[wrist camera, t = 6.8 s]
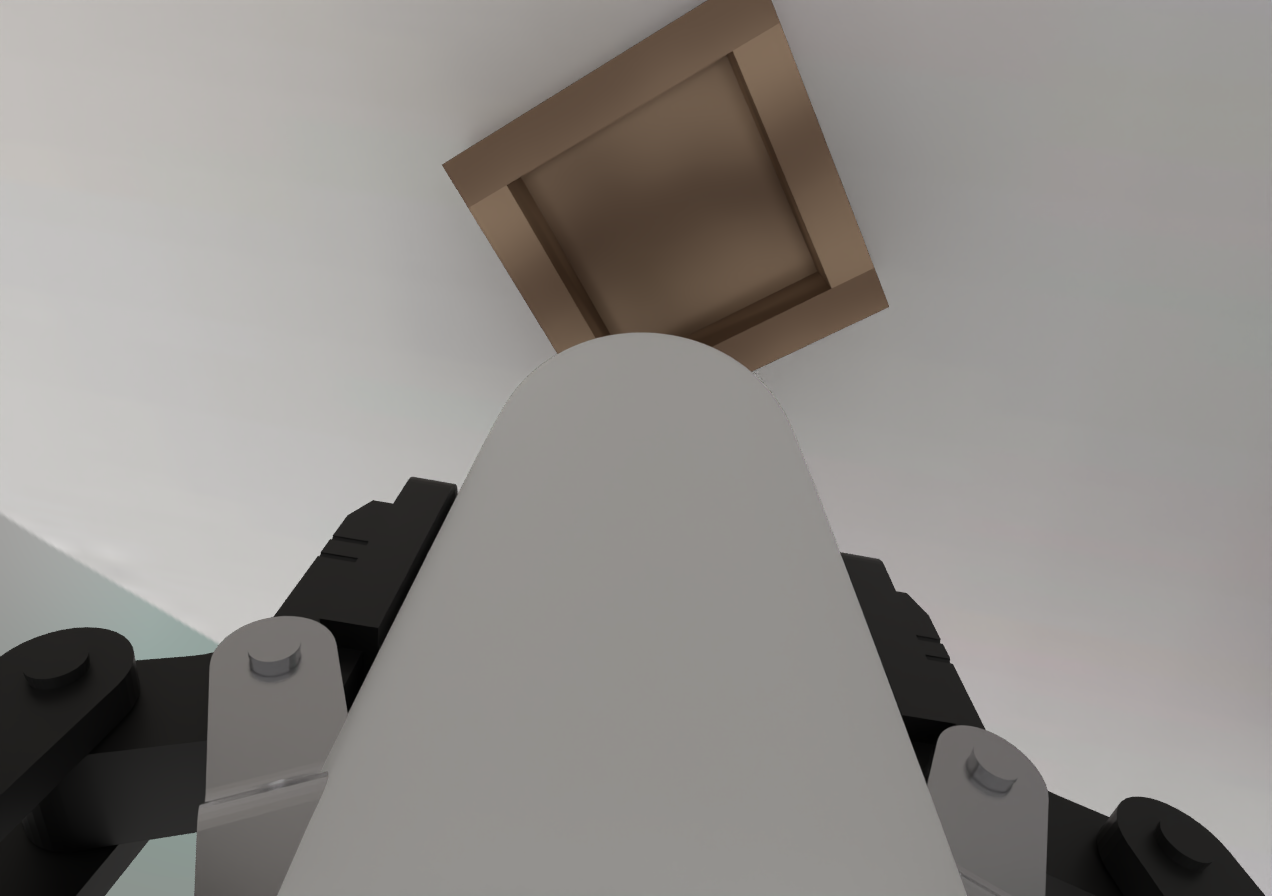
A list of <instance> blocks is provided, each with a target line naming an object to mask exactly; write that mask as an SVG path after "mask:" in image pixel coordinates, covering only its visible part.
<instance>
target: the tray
mask: <svg viewBox="0 0 1272 896" xmlns="http://www.w3.org/2000/svg"><path fill="white" fill-rule="evenodd" d="M442 166H443V167H444V169H445V171H446V172H447V174H448V176H449V177H450V179H451V180H452V182H453V184H454V185H455V187H456V189H457V190H458V192H459V194H460V195H461V197H462V198H463V200H464V202H465V203H466V205H467V207H468V208H469V210H470V212H471V213H472V215H473V216H474V218H475V220H476V221H477V223H478V225H479V226H480V228H481V229H482V231H483V233H484V234H485V236H486V238H487V239H488V241H489V243H490V244H491V246H492V247H493V249H494V251H495V252H496V254H497V256H498V257H499V259H500V261H501V262H502V264H503V265H504V267H505V269H506V270H507V272H508V274H509V275H510V277H511V279H512V280H513V282H514V283H515V285H516V287H517V288H518V290H519V292H520V293H521V295H522V297H523V298H524V300H525V301H526V303H527V305H528V306H529V308H530V310H531V311H532V313H533V315H534V316H535V318H536V319H537V321H538V323H539V324H540V326H541V328H542V329H543V331H544V333H545V334H546V336H547V337H548V339H549V341H550V342H551V344H552V346H553V347H554V349H555V351H556V352H557V354H559V353H561V352H562V351H564V350H566V349H568V348H571V347H573V346H575V345H578V344H580V343H583V342H586V341H589V340H592V339H596V338H600V337H604V336H609V335H615V334H622V333H660V334H668V335H674V336H679V337H683V338H687V339H691V340H694V341H697V342H700V343H703V344H705V345H708V346H710V347H713V348H715V349H717V350H719V351H721V352H723V353H725V354H726V355H728V356H730V357H732V358H733V359H735V360H736V361H738V362H739V363H741V364H742V365H743V366H745V367H746V368H747V369H748V370H750V371H751V372H752V371H754V370H756V369H758V368H760V367H762V366H765V365H767V364H769V363H771V362H773V361H775V360H777V359H779V358H782V357H784V356H786V355H788V354H790V353H792V352H794V351H796V350H799V349H801V348H803V347H805V346H807V345H809V344H811V343H813V342H816V341H818V340H820V339H822V338H824V337H826V336H828V335H830V334H833V333H835V332H837V331H839V330H841V329H843V328H845V327H847V326H850V325H852V324H854V323H856V322H858V321H860V320H862V319H864V318H867V317H869V316H871V315H873V314H875V313H877V312H879V311H881V310H884V309H886V308H888V307H889V305H888V302H887V300H886V297H885V294H884V292H883V289H882V287H881V284H880V281H879V279H878V276H877V274H876V271H875V268H874V266H873V263H872V261H871V258H870V255H869V253H868V250H867V248H866V245H865V242H864V240H863V237H862V235H861V232H860V229H859V227H858V224H857V222H856V219H855V216H854V214H853V211H852V209H851V206H850V203H849V201H848V198H847V196H846V193H845V190H844V188H843V185H842V183H841V180H840V177H839V175H838V172H837V170H836V167H835V164H834V162H833V159H832V157H831V154H830V151H829V149H828V146H827V144H826V141H825V138H824V136H823V133H822V131H821V128H820V125H819V123H818V120H817V118H816V115H815V112H814V110H813V107H812V105H811V102H810V99H809V97H808V94H807V92H806V89H805V86H804V84H803V81H802V79H801V76H800V74H799V71H798V68H797V66H796V63H795V61H794V58H793V55H792V53H791V50H790V48H789V45H788V42H787V40H786V37H785V35H784V32H783V29H782V27H781V24H780V22H779V19H778V16H777V14H776V11H775V9H774V6H773V3H772V1H771V0H707V1H706V2H704V3H702V4H701V5H699V6H697V7H696V8H694V9H693V10H691V11H689V12H688V13H686V14H685V15H683V16H681V17H680V18H678V19H676V20H675V21H673V22H672V23H670V24H668V25H667V26H665V27H664V28H662V29H660V30H659V31H657V32H655V33H654V34H652V35H651V36H649V37H647V38H646V39H644V40H643V41H641V42H639V43H638V44H636V45H634V46H633V47H631V48H630V49H628V50H626V51H625V52H623V53H622V54H620V55H618V56H617V57H615V58H613V59H612V60H610V61H609V62H607V63H605V64H604V65H602V66H601V67H599V68H597V69H596V70H594V71H592V72H591V73H589V74H588V75H586V76H584V77H583V78H581V79H580V80H578V81H576V82H575V83H573V84H571V85H570V86H568V87H567V88H565V89H563V90H562V91H560V92H559V93H557V94H555V95H554V96H552V97H550V98H549V99H547V100H546V101H544V102H542V103H541V104H539V105H538V106H536V107H534V108H533V109H531V110H530V111H528V112H526V113H525V114H523V115H521V116H520V117H518V118H517V119H515V120H513V121H512V122H510V123H509V124H507V125H505V126H504V127H502V128H500V129H499V130H497V131H496V132H494V133H492V134H491V135H489V136H488V137H486V138H484V139H483V140H481V141H479V142H478V143H476V144H475V145H473V146H471V147H470V148H468V149H467V150H465V151H463V152H462V153H460V154H458V155H457V156H455V157H454V158H452V159H450V160H449V161H447V162H446V163H444V164H442Z"/></svg>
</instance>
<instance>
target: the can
mask: <svg viewBox="0 0 1272 896" xmlns="http://www.w3.org/2000/svg"><path fill="white" fill-rule="evenodd" d="M326 771H327V772H328V780H327V784H326V786H325V789H324V791H323V794H322V796H321V798H320V800H319V803H318V805H317V807H316V809H315V811H314V813H313V815H312V818H311V820H310V822H309V824H308V826H307V829H306V831H305V833H304V835H303V838H302V840H301V842H300V845H299V847H298V849H297V851H296V854H295V856H294V858H293V861H292V863H291V865H290V867H289V870H288V872H287V874H286V876H285V879H284V881H283V883H282V886H281V888H280V890H279V892H278V895H277V896H967V894H966V891H965V889H964V886H963V883H962V880H961V878H960V875H959V872H958V869H957V866H956V864H955V861H954V858H953V855H952V853H951V850H950V847H949V844H948V842H947V839H946V836H945V833H944V831H943V828H942V825H941V822H940V820H939V817H938V814H937V811H936V809H935V806H934V803H933V801H932V798H931V795H930V792H929V790H928V787H927V784H926V782H925V779H924V776H923V774H922V771H921V768H920V765H919V763H918V760H917V757H916V755H915V752H914V749H913V746H912V744H911V741H910V738H909V736H908V733H907V730H906V728H905V725H904V722H903V719H902V717H901V714H900V711H899V709H898V706H897V703H896V701H895V698H894V695H893V692H892V690H891V687H890V684H889V682H888V679H887V676H886V674H885V671H884V668H883V666H882V663H881V660H880V658H879V655H878V652H877V649H876V647H875V644H874V641H873V639H872V636H871V633H870V631H869V628H868V625H867V623H866V620H865V617H864V615H863V612H862V609H861V607H860V604H859V601H858V599H857V596H856V593H855V591H854V588H853V585H852V583H851V580H850V577H849V575H848V572H847V569H846V567H845V564H844V561H843V559H842V556H841V553H840V551H839V548H838V545H837V543H836V540H835V537H834V535H833V532H832V529H831V527H830V524H829V521H828V519H827V516H826V514H825V511H824V508H823V506H822V503H821V500H820V498H819V495H818V493H817V490H816V487H815V485H814V482H813V479H812V477H811V474H810V472H809V469H808V466H807V464H806V461H805V459H804V456H803V454H802V451H801V449H800V446H799V444H798V441H797V439H796V436H795V434H794V431H793V429H792V427H791V425H790V422H789V420H788V418H787V416H786V414H785V413H784V411H783V409H782V408H781V406H780V404H779V403H778V401H777V400H776V398H775V397H774V395H773V394H772V393H771V392H770V390H769V389H768V388H767V387H766V386H765V385H764V383H763V382H762V381H761V380H760V379H759V378H758V377H757V376H755V375H754V374H753V373H752V372H751V371H750V370H748V369H747V368H746V367H745V366H743V365H742V364H741V363H739V362H738V361H736V360H735V359H733V358H732V357H730V356H728V355H726V354H725V353H723V352H721V351H719V350H717V349H715V348H713V347H710V346H708V345H705V344H703V343H700V342H697V341H694V340H691V339H687V338H683V337H679V336H674V335H668V334H660V333H622V334H615V335H609V336H604V337H600V338H596V339H592V340H589V341H586V342H583V343H580V344H578V345H575V346H573V347H571V348H568V349H566V350H564V351H562V352H561V353H559V354H557V355H555V356H554V357H552V358H550V359H549V360H547V361H546V362H544V363H543V364H542V365H540V366H539V367H538V368H537V369H535V370H534V371H533V372H532V373H531V374H530V375H529V376H528V377H527V378H526V379H525V380H524V381H523V382H522V383H521V384H520V385H519V386H518V387H517V389H516V390H515V391H514V392H513V394H512V395H511V397H510V398H509V399H508V401H507V402H506V404H505V405H504V407H503V409H502V411H501V412H500V414H499V416H498V418H497V419H496V421H495V423H494V425H493V427H492V429H491V431H490V432H489V434H488V436H487V438H486V440H485V442H484V444H483V446H482V448H481V450H480V452H479V454H478V456H477V458H476V459H475V461H474V463H473V465H472V467H471V469H470V471H469V473H468V475H467V477H466V479H465V481H464V483H463V485H462V487H461V489H460V491H459V493H458V495H457V497H456V499H455V501H454V503H453V505H452V507H451V509H450V511H449V513H448V515H447V517H446V519H445V521H444V523H443V525H442V527H441V529H440V530H439V532H438V534H437V536H436V538H435V540H434V542H433V544H432V546H431V548H430V550H429V552H428V554H427V556H426V558H425V560H424V562H423V564H422V566H421V568H420V570H419V572H418V574H417V576H416V578H415V580H414V582H413V584H412V586H411V588H410V590H409V592H408V594H407V596H406V598H405V600H404V602H403V604H402V606H401V608H400V610H399V612H398V614H397V616H396V618H395V620H394V622H393V624H392V626H391V628H390V630H389V632H388V634H387V636H386V638H385V640H384V642H383V644H382V646H381V648H380V650H379V652H378V654H377V656H376V658H375V660H374V662H373V664H372V666H371V668H370V670H369V672H368V674H367V676H366V678H365V680H364V682H363V684H362V686H361V688H360V690H359V692H358V694H357V696H356V698H355V700H354V702H353V704H352V706H351V708H350V710H349V712H348V716H347V719H346V721H345V723H344V725H343V727H342V729H341V731H340V733H339V735H338V737H337V739H336V741H335V743H334V745H333V747H332V749H331V751H330V753H329V755H328V757H327V759H326V761H325V763H324V765H323V767H322V770H321V772H320V773H322V772H326Z"/></svg>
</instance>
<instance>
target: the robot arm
mask: <svg viewBox="0 0 1272 896" xmlns="http://www.w3.org/2000/svg"><path fill="white" fill-rule="evenodd" d="M457 495H458V491H457V485H456V484H451V483H446V482H440V481H434V480H428V479H423V478H417V477H411V478H410V479H409V480H408V481H407V483H406V485H405V486H404V488H403V489H402V491H401V492H400V494H399V495H398V497H397V499H396V500H395V502H394V503H393V504H392V503H386V502H380V501H374V500H373V501H371V502H369V503H368V504H366V505H364V506H363V507H361V508H359V509H358V510H356V511H354V512H352V513H351V514H349V515H348V516H347V517H346V518H345V520H344V521H343V522H342V524H341V525H340V527H339V528H338V529H337V531H336V532H335V533H334V535H333V538H332V540H331V539H330V540H329V542H328V543H327V544H326V546H325V547H324V548H323V550H322V551H321V555H320V556H318V557H317V558H316V559H315V561H314V562H313V564H312V565H311V566H310V568H309V569H308V570H307V572H306V573H305V574H304V576H303V577H302V579H301V580H300V581H299V583H298V584H297V585H296V587H295V588H294V590H293V591H292V592H291V594H290V595H289V596H288V598H287V599H286V600H285V602H284V603H283V605H282V606H281V607H280V609H279V610H278V611H277V613H276V614H275V616H274V617H271V618H266V619H262V620H258V621H255V622H252V623H250V624H247V625H245V626H243V627H241V628H239V629H238V630H236V631H234V632H233V633H231V634H230V635H229V636H227V637H226V638H225V639H224V640H223V641H222V642H221V643H220V644H219V645H218V647H217V648H216V649H215V651H214V652H213V653H209V654H204V655H196V656H186V657H174V658H161V659H150V660H137V661H135V656H134V651H133V647H132V645H131V643H130V642H129V641H128V640H127V639H126V638H125V637H124V636H122V635H120V634H119V633H117V632H114V631H111V630H107V629H102V628H88V627H85V628H72V629H66V630H60V631H56V632H51V633H48V634H45V635H42V636H39V637H36V638H33V639H31V640H29V641H26V642H24V643H22V644H20V645H18V646H16V647H15V648H13V649H11V650H9V651H8V652H6V653H5V654H4V655H2V656H0V896H105V895H106V894H107V892H108V891H109V890H110V888H111V887H112V886H113V885H114V884H115V882H116V881H117V880H118V879H119V877H120V876H121V875H122V873H123V872H124V871H125V870H126V869H127V867H128V866H129V865H130V863H131V862H132V861H133V860H134V858H135V857H136V856H137V855H138V853H139V852H140V851H141V850H142V848H143V847H144V846H145V845H146V843H147V842H148V841H149V840H150V839H157V838H163V837H170V836H176V835H182V834H189V833H195V832H197V841H196V842H197V843H196V865H195V891H194V892H195V893H194V896H277V895H278V892H279V890H280V888H281V886H282V883H283V881H284V879H285V876H286V874H287V872H288V870H289V867H290V865H291V863H292V861H293V858H294V856H295V854H296V851H297V849H298V847H299V845H300V842H301V840H302V838H303V835H304V833H305V831H306V829H307V826H308V824H309V822H310V820H311V818H312V815H313V813H314V811H315V809H316V807H317V805H318V803H319V800H320V798H321V796H322V794H323V791H324V789H325V786H326V784H327V780H328V772H327V771H326V772H322V773H320V772H321V770H322V767H323V765H324V763H325V761H326V759H327V757H328V755H329V753H330V751H331V749H332V747H333V745H334V743H335V741H336V739H337V737H338V735H339V733H340V731H341V729H342V727H343V725H344V723H345V721H346V719H347V716H348V712H349V710H350V708H351V706H352V704H353V702H354V700H355V698H356V696H357V694H358V692H359V690H360V688H361V686H362V684H363V682H364V680H365V678H366V676H367V674H368V672H369V670H370V668H371V666H372V664H373V662H374V660H375V658H376V656H377V654H378V652H379V650H380V648H381V646H382V644H383V642H384V640H385V638H386V636H387V634H388V632H389V630H390V628H391V626H392V624H393V622H394V620H395V618H396V616H397V614H398V612H399V610H400V608H401V606H402V604H403V602H404V600H405V598H406V596H407V594H408V592H409V590H410V588H411V586H412V584H413V582H414V580H415V578H416V576H417V574H418V572H419V570H420V568H421V566H422V564H423V562H424V560H425V558H426V556H427V554H428V552H429V550H430V548H431V546H432V544H433V542H434V540H435V538H436V536H437V534H438V532H439V530H440V529H441V527H442V525H443V523H444V521H445V519H446V517H447V515H448V513H449V511H450V509H451V507H452V505H453V503H454V501H455V499H456V497H457ZM840 553H841V552H840ZM841 556H842V559H843V561H844V564H845V567H846V569H847V572H848V575H849V577H850V580H851V583H852V585H853V588H854V591H855V593H856V596H857V599H858V601H859V604H860V607H861V609H862V612H863V615H864V617H865V620H866V623H867V625H868V628H869V631H870V633H871V636H872V639H873V641H874V644H875V647H876V649H877V652H878V655H879V658H880V660H881V663H882V666H883V668H884V671H885V674H886V676H887V679H888V682H889V684H890V687H891V690H892V692H893V695H894V698H895V701H896V703H897V706H898V709H899V711H900V714H901V717H902V719H903V722H904V725H905V728H906V730H907V733H908V736H909V738H910V741H911V744H912V746H913V749H914V752H915V755H916V757H917V760H918V763H919V765H920V768H921V771H922V774H923V776H924V779H925V782H926V784H927V787H928V790H929V792H930V795H931V798H932V801H933V803H934V806H935V809H936V811H937V814H938V817H939V820H940V822H941V825H942V828H943V831H944V833H945V836H946V839H947V842H948V844H949V847H950V850H951V853H952V855H953V858H954V861H955V864H956V866H957V869H958V872H959V875H960V878H961V880H962V883H963V886H964V889H965V891H966V894H967V896H1265V895H1264V894H1263V892H1262V891H1261V890H1260V889H1259V887H1258V886H1257V885H1256V884H1255V883H1254V881H1253V880H1252V879H1251V878H1250V876H1249V875H1248V874H1247V873H1246V872H1245V870H1244V869H1243V868H1242V867H1241V865H1240V864H1239V863H1238V862H1237V861H1236V859H1235V858H1234V857H1233V856H1232V855H1231V853H1230V852H1229V851H1228V850H1227V849H1226V848H1225V846H1224V845H1223V844H1222V843H1221V842H1220V841H1219V840H1218V839H1217V838H1216V837H1215V836H1214V835H1213V834H1212V833H1211V832H1209V831H1208V830H1207V829H1206V828H1205V827H1203V826H1202V825H1201V824H1200V823H1198V822H1197V821H1195V820H1194V819H1193V818H1191V817H1190V816H1188V815H1186V814H1185V813H1183V812H1181V811H1180V810H1178V809H1176V808H1174V807H1172V806H1170V805H1168V804H1165V803H1163V802H1160V801H1158V800H1154V799H1151V798H1146V797H1130V798H1126V799H1125V800H1123V801H1121V803H1120V804H1119V805H1118V807H1117V808H1116V809H1115V811H1114V812H1113V813H1112V814H1111V816H1110V817H1108V816H1105V815H1103V814H1100V813H1098V812H1096V811H1093V810H1091V809H1089V808H1086V807H1084V806H1081V805H1079V804H1077V803H1074V802H1072V801H1070V800H1067V799H1065V798H1062V797H1060V796H1058V795H1056V794H1053V793H1051V792H1049V791H1048V790H1047V787H1046V784H1045V782H1044V780H1043V778H1042V776H1041V774H1040V773H1039V771H1038V770H1037V768H1036V767H1035V766H1034V764H1033V763H1032V762H1031V761H1030V760H1029V759H1028V758H1027V757H1026V756H1025V755H1024V754H1023V753H1022V752H1021V751H1020V750H1019V749H1017V748H1016V747H1015V746H1014V745H1012V744H1011V743H1009V742H1008V741H1006V740H1005V739H1003V738H1001V737H999V736H998V735H996V734H994V733H991V732H989V731H987V730H985V728H984V726H983V724H982V722H981V720H980V718H979V716H978V714H977V712H976V710H975V708H974V706H973V704H972V702H971V700H970V698H969V696H968V694H967V692H966V690H965V688H964V685H963V683H962V681H961V679H960V677H959V675H958V673H957V671H956V669H955V667H954V665H953V664H951V663H950V657H949V655H948V653H947V651H946V649H945V647H944V645H943V644H940V637H939V635H938V633H937V631H936V629H935V627H934V625H933V623H932V621H931V619H930V617H929V615H928V614H927V613H926V612H925V611H924V610H923V609H922V608H921V607H920V606H919V605H918V604H917V603H916V602H915V601H914V600H913V599H912V598H911V597H910V596H909V595H908V594H907V593H903V592H897V591H896V590H895V588H894V586H893V584H892V582H891V579H890V577H889V575H888V573H887V571H886V568H885V566H884V564H883V562H882V561H881V560H879V559H876V558H870V557H864V556H859V555H853V554H847V553H841Z"/></svg>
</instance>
